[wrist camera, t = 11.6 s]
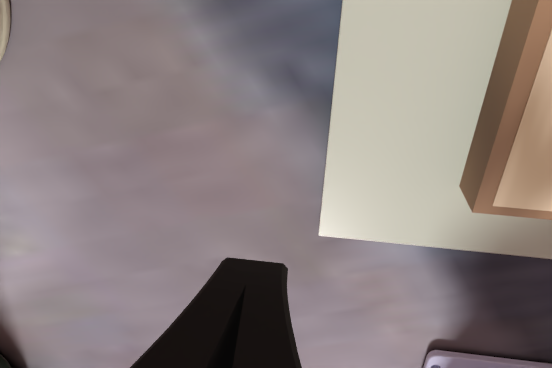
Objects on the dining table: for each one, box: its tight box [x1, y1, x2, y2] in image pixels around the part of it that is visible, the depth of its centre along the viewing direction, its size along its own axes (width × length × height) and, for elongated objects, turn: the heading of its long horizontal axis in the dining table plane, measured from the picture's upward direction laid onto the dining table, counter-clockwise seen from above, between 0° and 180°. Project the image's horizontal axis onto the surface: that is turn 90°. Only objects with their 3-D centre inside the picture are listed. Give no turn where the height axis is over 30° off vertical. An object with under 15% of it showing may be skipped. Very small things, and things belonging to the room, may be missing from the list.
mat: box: [319, 0, 552, 259], centre depth 16 cm, size 16×14×1 cm
